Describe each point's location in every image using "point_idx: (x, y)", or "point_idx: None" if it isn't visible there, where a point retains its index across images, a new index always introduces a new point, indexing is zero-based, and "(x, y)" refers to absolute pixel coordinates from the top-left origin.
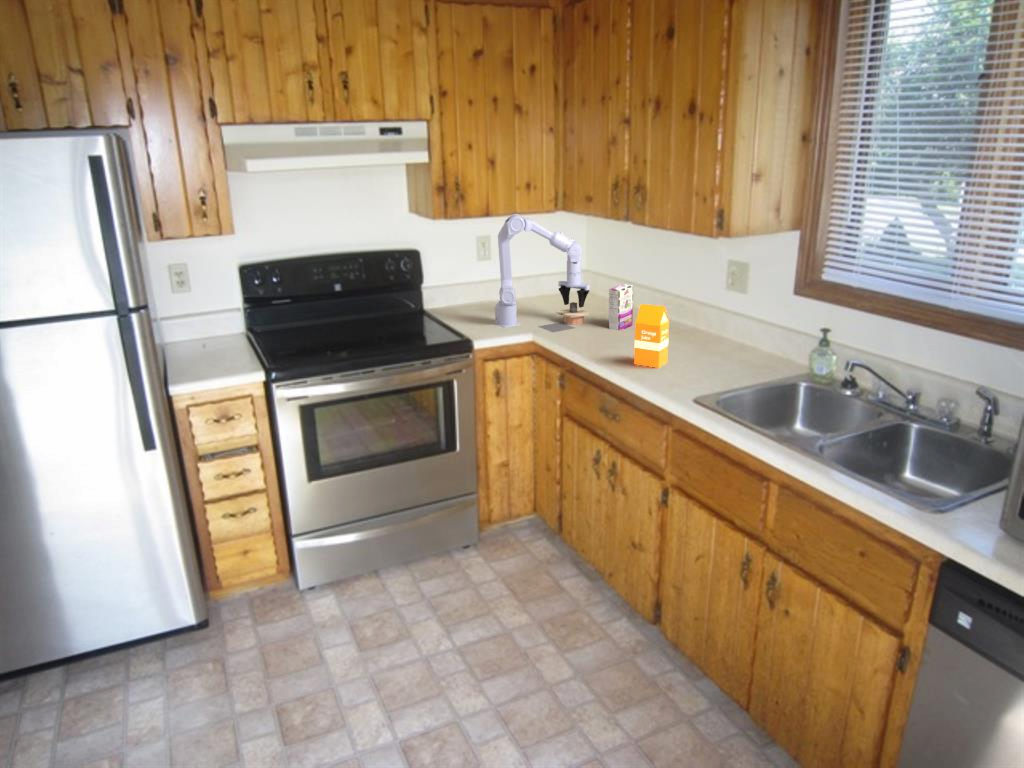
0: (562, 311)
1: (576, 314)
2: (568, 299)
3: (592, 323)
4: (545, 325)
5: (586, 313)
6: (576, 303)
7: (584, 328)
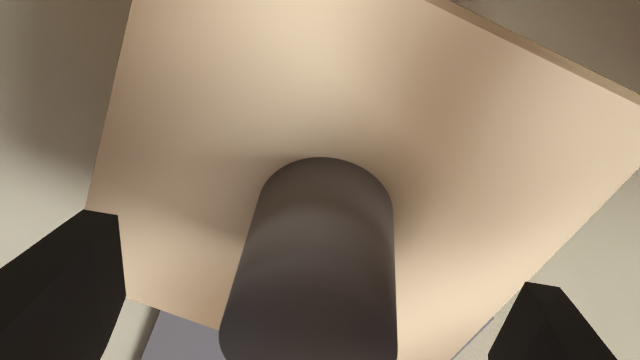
0: (150, 255)
1: (455, 321)
2: (57, 298)
3: (626, 11)
4: (164, 342)
5: (598, 201)
6: (385, 345)
7: (578, 264)
